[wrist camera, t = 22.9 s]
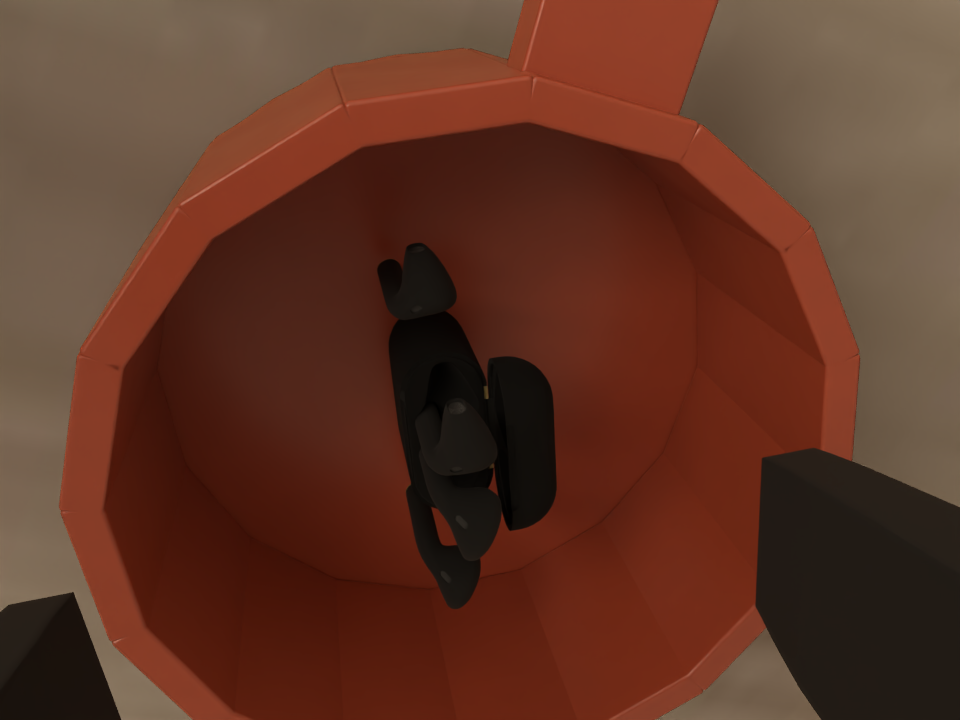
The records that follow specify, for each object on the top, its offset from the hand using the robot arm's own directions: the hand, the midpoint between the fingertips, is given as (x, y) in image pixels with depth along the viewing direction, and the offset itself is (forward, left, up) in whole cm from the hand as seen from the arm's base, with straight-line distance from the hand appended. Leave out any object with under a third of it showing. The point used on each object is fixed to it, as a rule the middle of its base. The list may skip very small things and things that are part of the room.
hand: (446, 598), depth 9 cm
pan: (+2, 0, -9) cm, 9 cm away
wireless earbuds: (+2, 0, -9) cm, 9 cm away
